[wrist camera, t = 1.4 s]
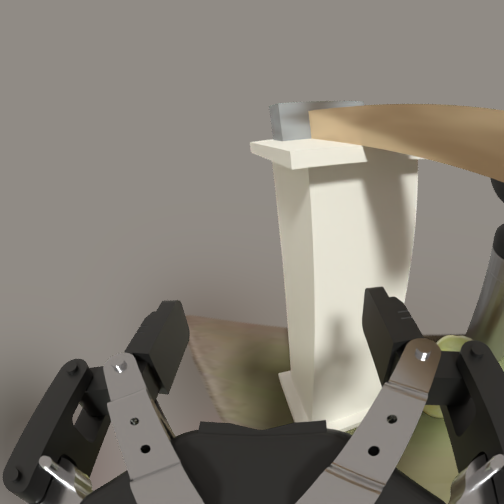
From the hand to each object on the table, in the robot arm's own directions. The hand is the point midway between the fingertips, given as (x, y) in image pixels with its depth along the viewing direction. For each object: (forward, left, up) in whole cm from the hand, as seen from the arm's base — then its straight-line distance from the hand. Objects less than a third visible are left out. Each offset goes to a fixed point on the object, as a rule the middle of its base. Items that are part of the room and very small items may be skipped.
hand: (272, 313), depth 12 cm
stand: (-9, -11, -26) cm, 30 cm away
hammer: (-9, -6, +6) cm, 12 cm away
